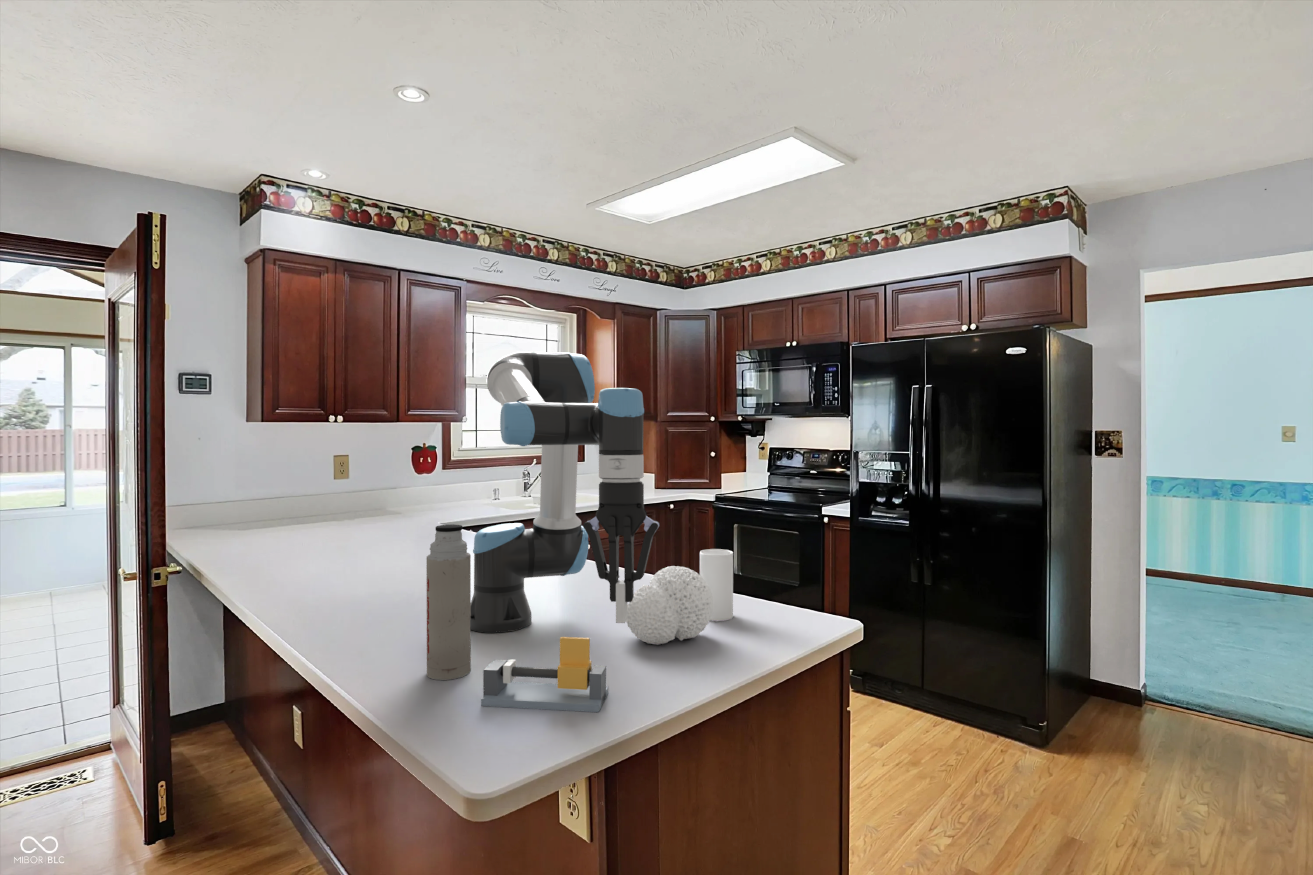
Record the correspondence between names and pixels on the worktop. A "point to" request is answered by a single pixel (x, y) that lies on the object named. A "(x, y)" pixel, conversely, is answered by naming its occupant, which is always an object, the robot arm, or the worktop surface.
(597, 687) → the rail rig
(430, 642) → the thermos bottle
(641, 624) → the white coral
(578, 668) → the yellow sliding carriage
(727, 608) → the cup
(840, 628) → the worktop surface
